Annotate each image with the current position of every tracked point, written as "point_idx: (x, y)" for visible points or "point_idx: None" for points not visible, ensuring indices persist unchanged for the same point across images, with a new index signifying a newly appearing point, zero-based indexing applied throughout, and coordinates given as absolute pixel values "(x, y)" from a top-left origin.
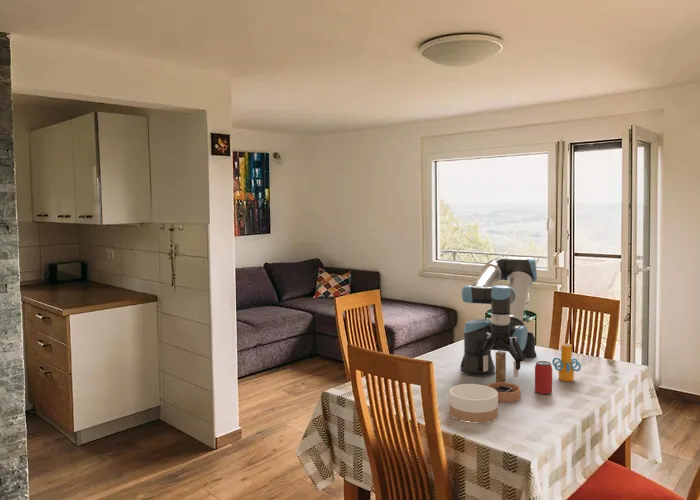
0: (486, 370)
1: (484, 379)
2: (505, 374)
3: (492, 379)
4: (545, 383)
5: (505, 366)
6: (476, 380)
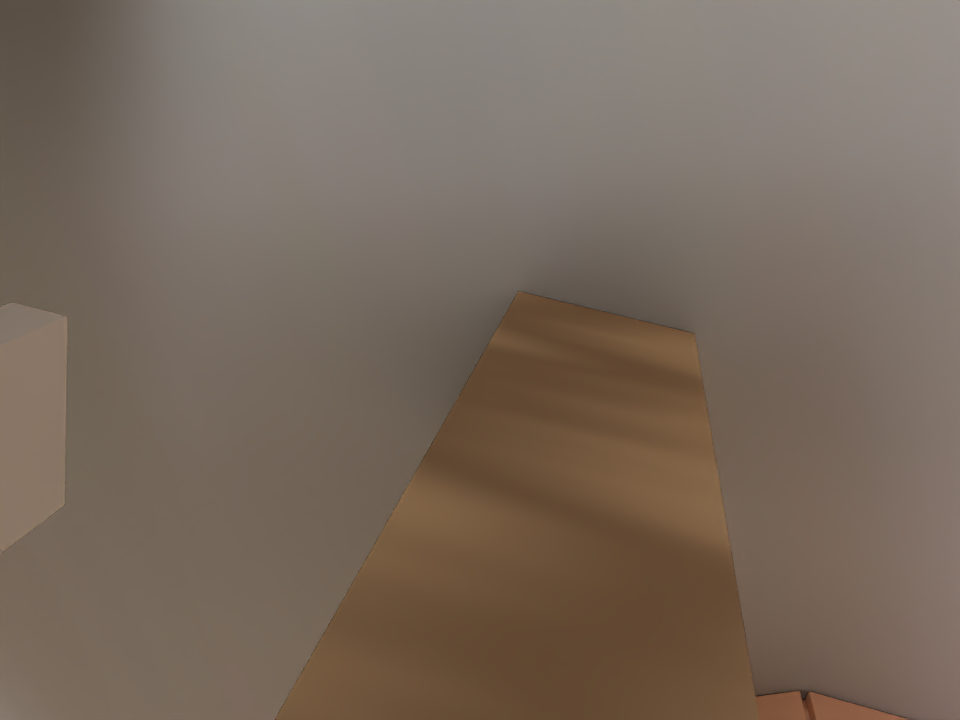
0: (57, 425)
1: (120, 132)
2: (711, 464)
3: (276, 34)
4: None
5: (739, 656)
6: (18, 284)
